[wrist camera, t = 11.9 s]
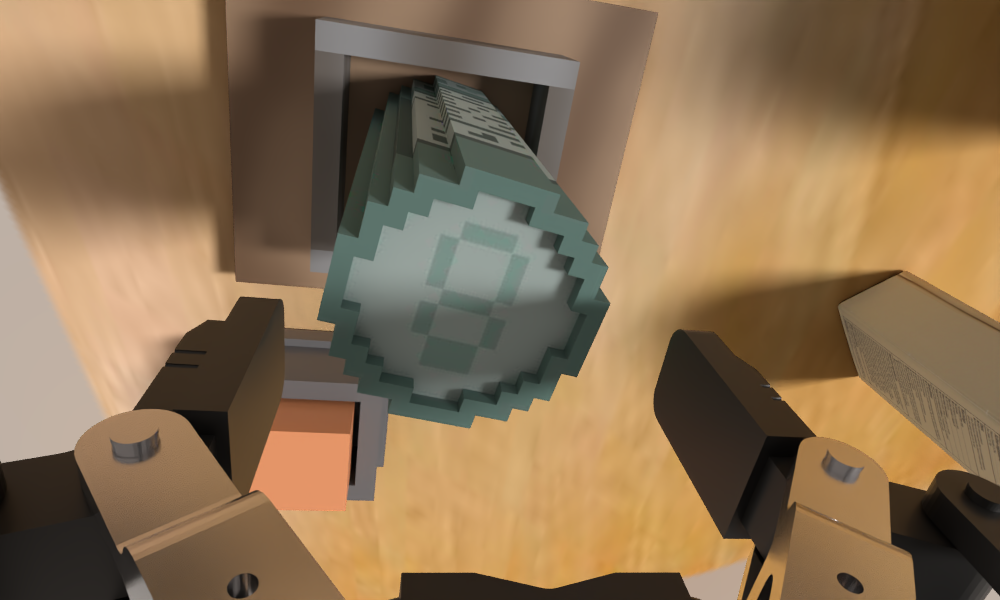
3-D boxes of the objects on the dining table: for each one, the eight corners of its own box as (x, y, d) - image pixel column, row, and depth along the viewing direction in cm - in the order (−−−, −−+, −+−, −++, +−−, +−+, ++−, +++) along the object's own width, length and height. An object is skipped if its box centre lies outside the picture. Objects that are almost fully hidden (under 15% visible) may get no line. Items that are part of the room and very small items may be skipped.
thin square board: (648, 11, 26) (687, 14, 22) (579, 299, 32) (602, 339, 28) (231, -64, 23) (197, -76, 19) (242, 271, 29) (217, 311, 25)
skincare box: (922, 345, 37) (1135, 490, 26) (854, 379, 37) (1035, 535, 26) (904, 265, 34) (1135, 390, 23) (831, 302, 34) (1022, 443, 24)
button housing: (395, 335, 32) (393, 378, 28) (384, 454, 35) (381, 506, 31) (233, 324, 30) (209, 368, 27) (238, 450, 33) (217, 503, 30)
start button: (355, 394, 29) (350, 434, 27) (350, 467, 31) (345, 510, 29) (256, 389, 28) (240, 429, 26) (257, 464, 30) (243, 509, 28)
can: (353, 197, 27) (298, 396, 14) (387, 58, 24) (361, 134, 11) (482, 233, 28) (546, 442, 15) (525, 105, 26) (648, 221, 13)
